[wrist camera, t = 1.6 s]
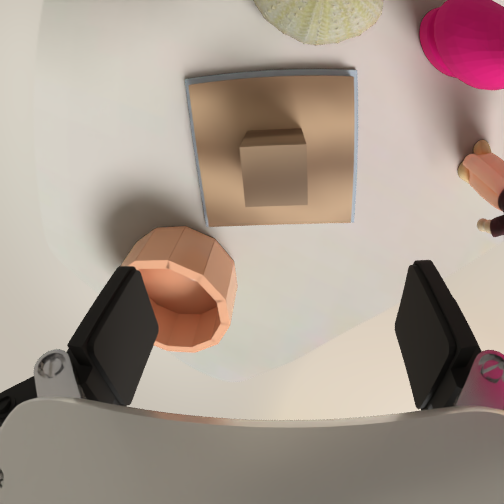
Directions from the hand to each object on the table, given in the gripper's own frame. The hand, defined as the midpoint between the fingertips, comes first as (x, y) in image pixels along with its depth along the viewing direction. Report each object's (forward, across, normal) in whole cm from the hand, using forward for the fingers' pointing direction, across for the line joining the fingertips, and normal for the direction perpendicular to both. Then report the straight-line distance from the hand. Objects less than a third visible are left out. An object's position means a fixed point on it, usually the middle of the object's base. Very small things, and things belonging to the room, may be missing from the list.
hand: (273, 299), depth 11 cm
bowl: (+17, +10, +11) cm, 23 cm away
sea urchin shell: (+17, -4, -14) cm, 22 cm away
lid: (+17, 0, -1) cm, 17 cm away
